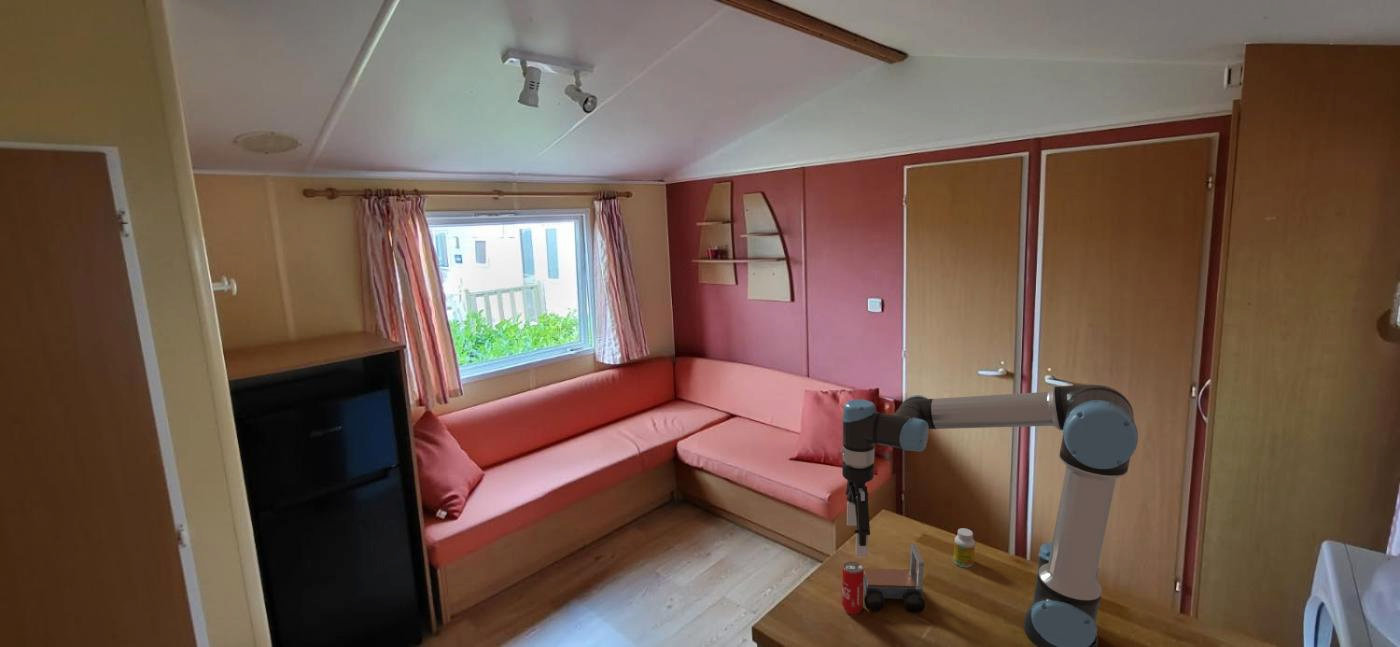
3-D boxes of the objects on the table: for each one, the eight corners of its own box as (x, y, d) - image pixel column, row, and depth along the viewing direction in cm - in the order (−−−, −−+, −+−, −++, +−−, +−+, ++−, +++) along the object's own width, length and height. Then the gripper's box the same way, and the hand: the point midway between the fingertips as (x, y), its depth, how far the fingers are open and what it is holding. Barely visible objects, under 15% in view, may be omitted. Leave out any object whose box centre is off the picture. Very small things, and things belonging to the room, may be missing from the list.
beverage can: (863, 616, 154) (863, 574, 151) (842, 614, 155) (842, 572, 153) (862, 603, 159) (863, 562, 156) (842, 600, 160) (842, 560, 158)
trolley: (914, 586, 165) (916, 540, 162) (924, 613, 154) (927, 565, 151) (857, 584, 166) (859, 539, 163) (864, 611, 156) (866, 563, 153)
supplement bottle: (954, 566, 173) (956, 535, 171) (952, 555, 178) (954, 525, 176) (974, 569, 171) (976, 538, 169) (972, 558, 176) (974, 528, 174)
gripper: (835, 441, 162) (834, 513, 166) (850, 486, 138) (849, 569, 142) (864, 441, 161) (862, 514, 166) (884, 486, 137) (882, 569, 141)
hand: (856, 539), depth 154 cm, fingers open, 13 cm apart
